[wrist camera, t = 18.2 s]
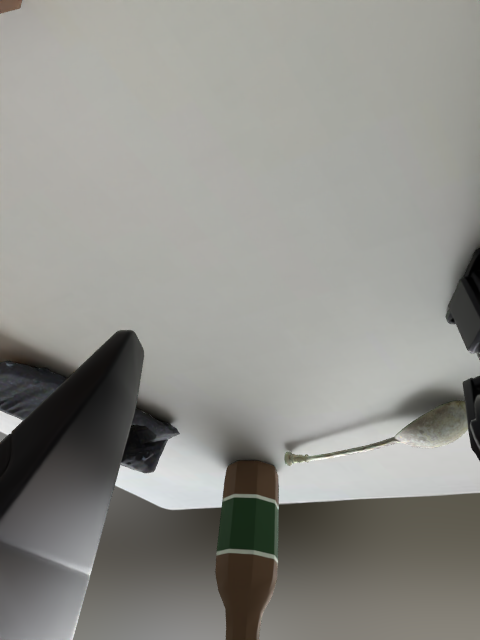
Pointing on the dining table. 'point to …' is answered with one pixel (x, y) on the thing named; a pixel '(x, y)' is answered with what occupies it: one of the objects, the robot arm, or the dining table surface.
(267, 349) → the dining table surface
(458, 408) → the soupspoon
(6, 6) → the walnut step shelf
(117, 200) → the dining table surface
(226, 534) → the beer bottle
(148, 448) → the grey knit cloth
